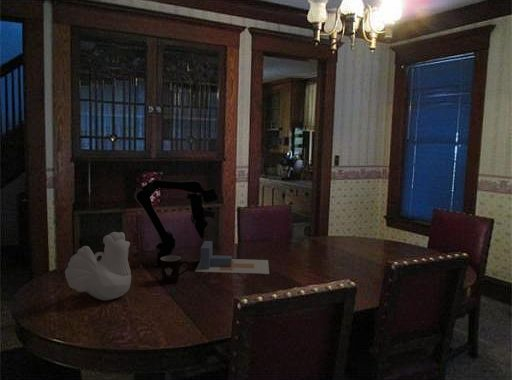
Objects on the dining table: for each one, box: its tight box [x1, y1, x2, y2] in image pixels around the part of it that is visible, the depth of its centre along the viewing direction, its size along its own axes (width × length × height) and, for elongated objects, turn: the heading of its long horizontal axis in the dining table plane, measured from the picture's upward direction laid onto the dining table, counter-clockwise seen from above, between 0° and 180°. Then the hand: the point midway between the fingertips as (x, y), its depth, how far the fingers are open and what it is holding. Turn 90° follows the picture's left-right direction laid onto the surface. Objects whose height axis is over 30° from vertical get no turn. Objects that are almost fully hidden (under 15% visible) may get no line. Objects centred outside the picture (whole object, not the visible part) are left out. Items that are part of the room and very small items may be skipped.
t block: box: [200, 240, 233, 269], centre depth 205 cm, size 14×14×10 cm
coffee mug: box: [160, 255, 190, 285], centre depth 180 cm, size 12×9×10 cm
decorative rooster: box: [64, 231, 132, 301], centre depth 159 cm, size 25×16×25 cm, turn 127°
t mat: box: [194, 258, 270, 275], centre depth 205 cm, size 34×22×1 cm, turn 90°
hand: (201, 236), depth 211 cm, fingers open, 9 cm apart
